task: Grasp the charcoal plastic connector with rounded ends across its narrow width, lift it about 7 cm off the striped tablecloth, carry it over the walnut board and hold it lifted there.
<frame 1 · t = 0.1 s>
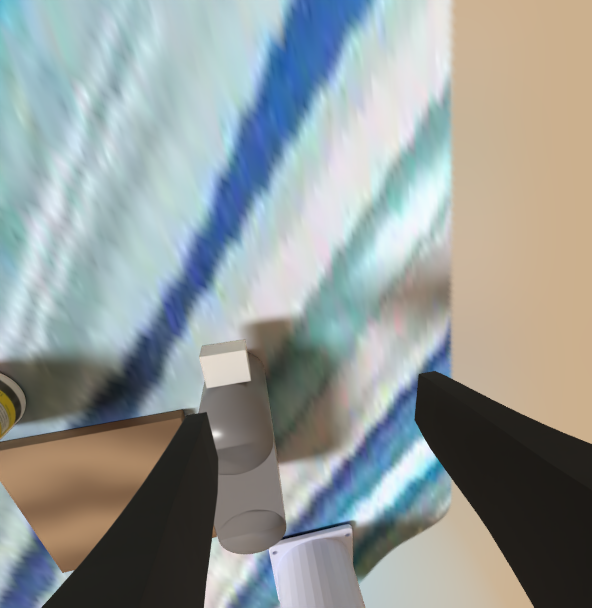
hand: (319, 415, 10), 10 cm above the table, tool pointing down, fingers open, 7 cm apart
connector: (243, 415, 22), on the table
walnut board: (120, 491, 22), on the table
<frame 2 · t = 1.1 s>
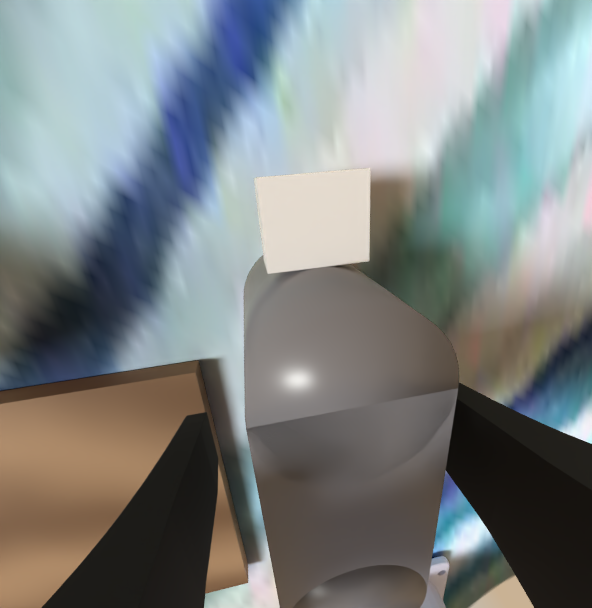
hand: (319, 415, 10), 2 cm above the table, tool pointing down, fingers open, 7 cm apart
connector: (305, 375, 12), on the table
walnut board: (87, 510, 13), on the table
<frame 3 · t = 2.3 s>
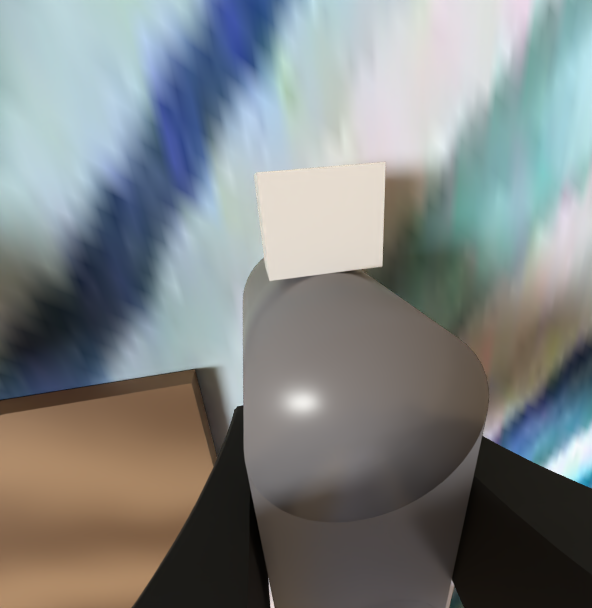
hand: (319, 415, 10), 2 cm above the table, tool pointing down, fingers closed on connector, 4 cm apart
connector: (308, 384, 11), on the table, touching gripper
walnut board: (78, 525, 12), on the table
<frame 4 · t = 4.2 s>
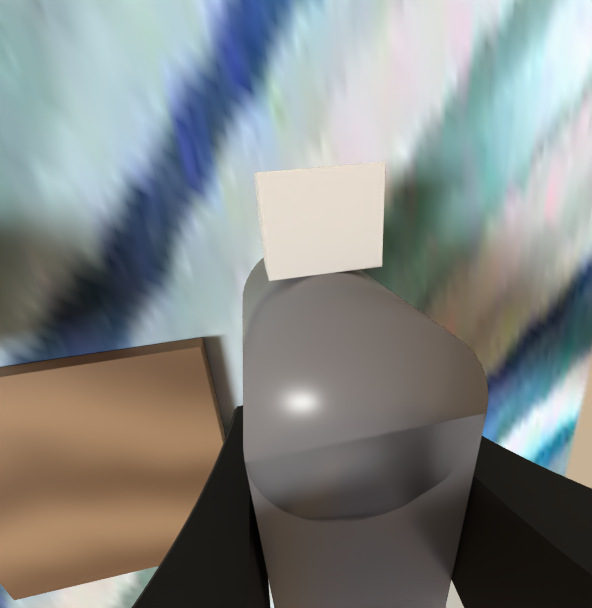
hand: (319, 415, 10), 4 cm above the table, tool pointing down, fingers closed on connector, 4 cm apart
connector: (308, 384, 11), point 2 cm above the table, touching gripper
walnut board: (102, 474, 14), on the table
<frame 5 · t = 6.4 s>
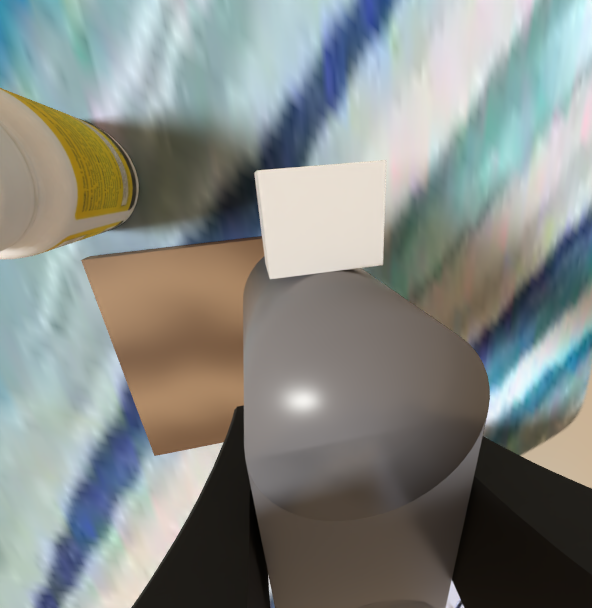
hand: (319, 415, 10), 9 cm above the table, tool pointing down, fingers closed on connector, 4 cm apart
connector: (308, 383, 11), point 7 cm above the table, touching gripper
supplement bottle: (87, 179, 14), on the table
walnut board: (231, 348, 18), on the table
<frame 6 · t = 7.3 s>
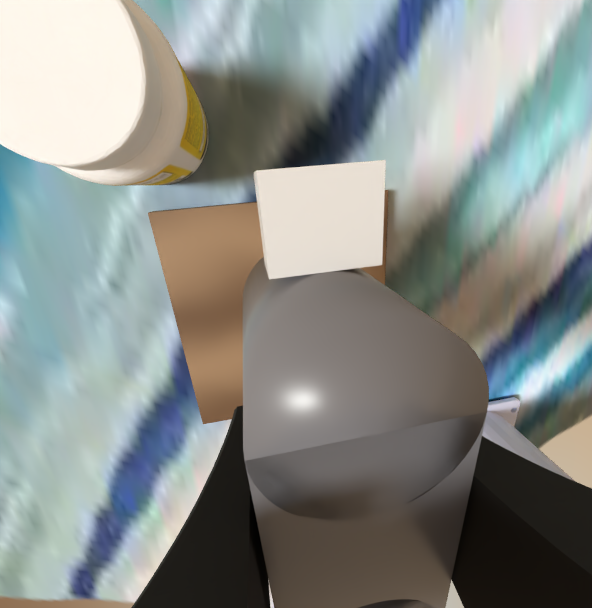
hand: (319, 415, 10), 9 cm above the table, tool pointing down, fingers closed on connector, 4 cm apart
connector: (308, 383, 11), point 7 cm above the table, touching gripper
supplement bottle: (156, 130, 14), on the table
walnut board: (284, 313, 18), on the table
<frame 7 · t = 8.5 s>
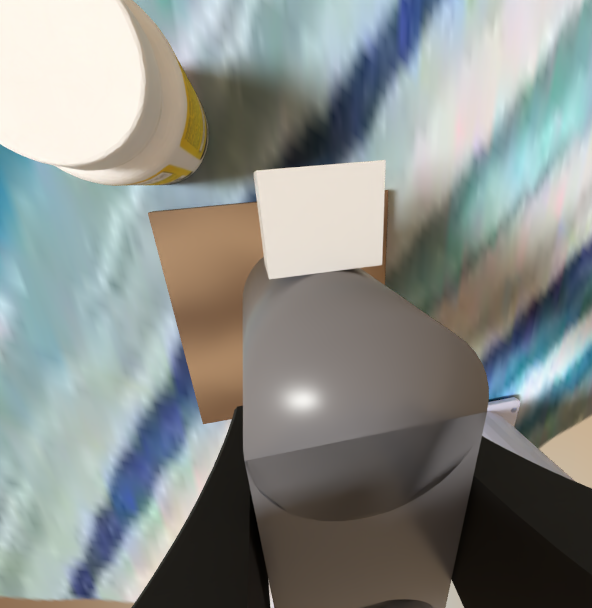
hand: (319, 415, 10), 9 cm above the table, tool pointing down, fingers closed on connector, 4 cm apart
connector: (308, 383, 11), point 7 cm above the table, touching gripper
supplement bottle: (156, 130, 14), on the table
walnut board: (284, 313, 18), on the table
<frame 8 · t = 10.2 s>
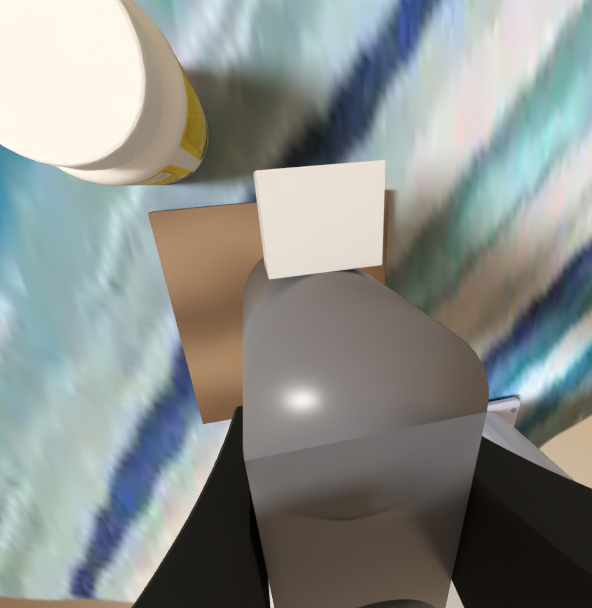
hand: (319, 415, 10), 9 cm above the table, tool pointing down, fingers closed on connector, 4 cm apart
connector: (308, 383, 11), point 7 cm above the table, touching gripper
supplement bottle: (156, 130, 14), on the table
walnut board: (284, 313, 18), on the table
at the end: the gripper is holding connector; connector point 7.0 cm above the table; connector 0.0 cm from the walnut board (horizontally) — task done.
